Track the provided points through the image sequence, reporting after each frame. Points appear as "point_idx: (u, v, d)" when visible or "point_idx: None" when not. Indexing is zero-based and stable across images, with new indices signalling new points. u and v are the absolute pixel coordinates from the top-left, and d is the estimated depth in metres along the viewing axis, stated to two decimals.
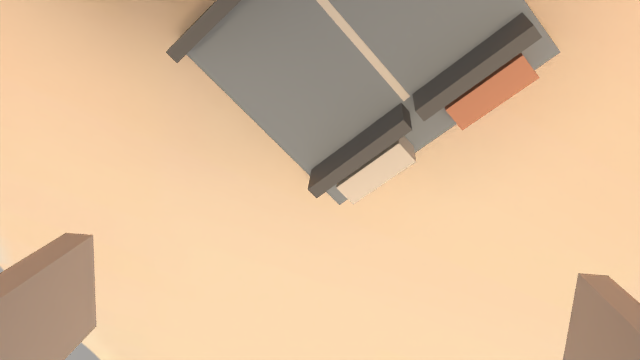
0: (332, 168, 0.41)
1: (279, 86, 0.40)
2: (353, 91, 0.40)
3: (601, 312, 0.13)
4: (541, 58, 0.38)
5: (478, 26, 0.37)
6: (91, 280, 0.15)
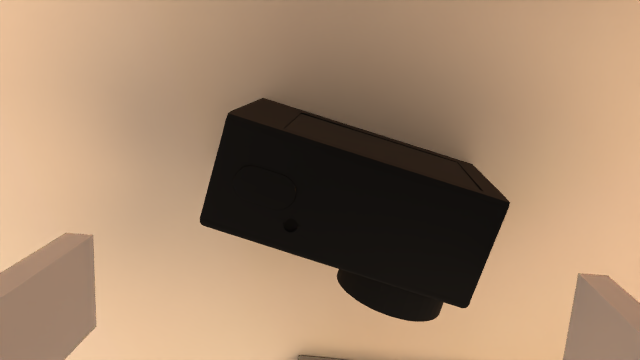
0: None
1: None
2: None
3: (601, 313, 0.13)
4: None
5: None
6: (91, 280, 0.15)
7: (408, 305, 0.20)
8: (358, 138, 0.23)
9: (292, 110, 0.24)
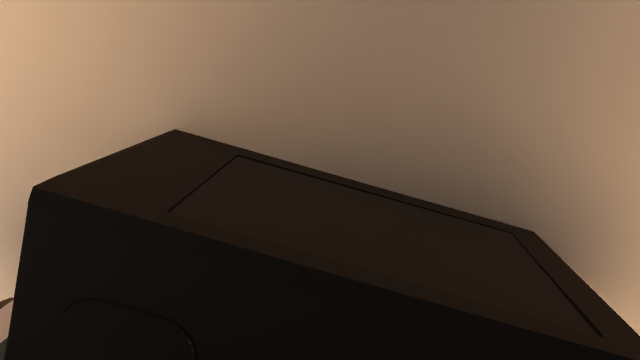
0: None
1: None
2: None
3: None
4: None
5: None
6: None
7: None
8: (335, 206, 0.12)
9: (220, 151, 0.14)
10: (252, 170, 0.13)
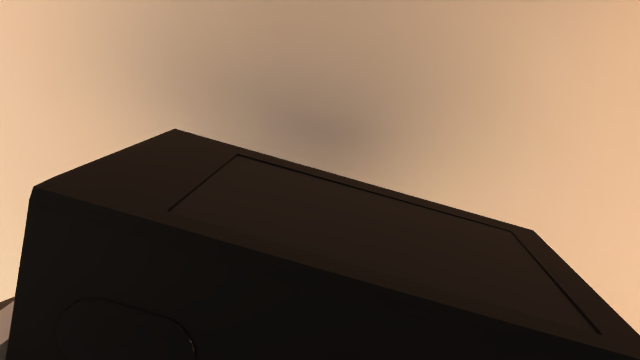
0: None
1: None
2: None
3: None
4: None
5: None
6: None
7: None
8: (335, 205, 0.12)
9: (220, 151, 0.14)
10: (252, 169, 0.13)
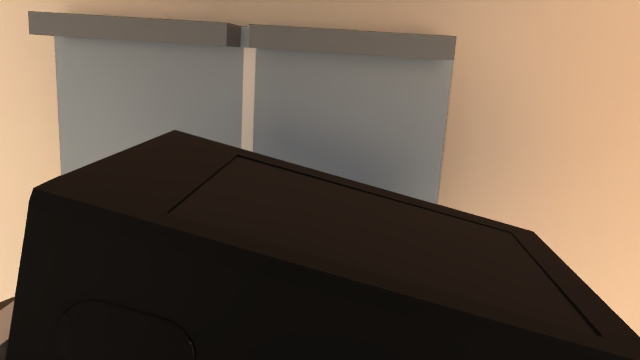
0: None
1: None
2: None
3: None
4: None
5: None
6: None
7: None
8: (335, 206, 0.12)
9: (220, 152, 0.14)
10: (252, 170, 0.13)
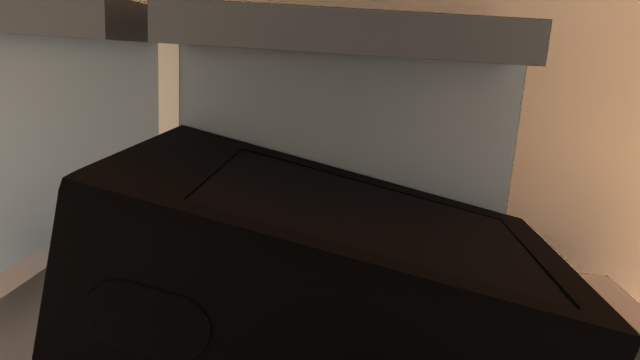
0: None
1: None
2: None
3: None
4: None
5: None
6: None
7: None
8: (336, 195, 0.13)
9: (226, 145, 0.15)
10: (257, 162, 0.14)
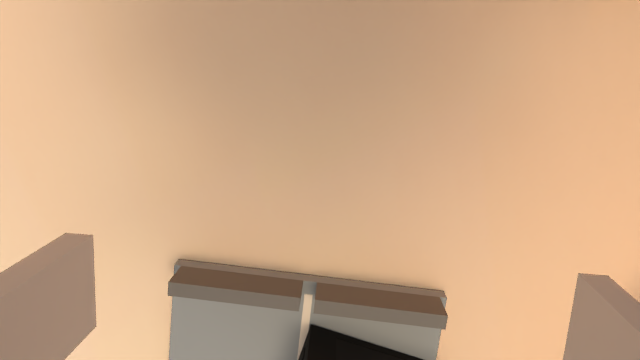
0: None
1: None
2: None
3: (601, 313, 0.13)
4: None
5: None
6: (91, 280, 0.15)
7: None
8: None
9: (331, 337, 0.39)
10: (344, 347, 0.39)
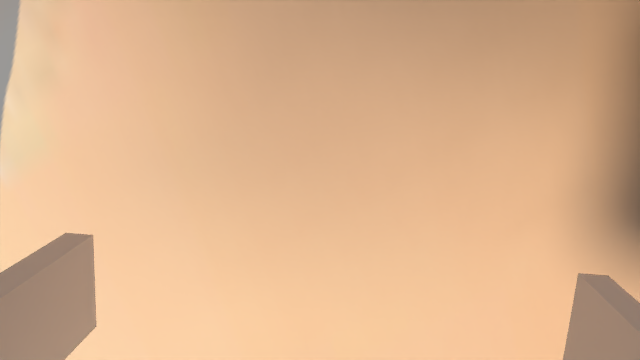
0: None
1: None
2: None
3: (600, 313, 0.13)
4: None
5: None
6: (91, 280, 0.15)
7: None
8: None
9: None
10: None
